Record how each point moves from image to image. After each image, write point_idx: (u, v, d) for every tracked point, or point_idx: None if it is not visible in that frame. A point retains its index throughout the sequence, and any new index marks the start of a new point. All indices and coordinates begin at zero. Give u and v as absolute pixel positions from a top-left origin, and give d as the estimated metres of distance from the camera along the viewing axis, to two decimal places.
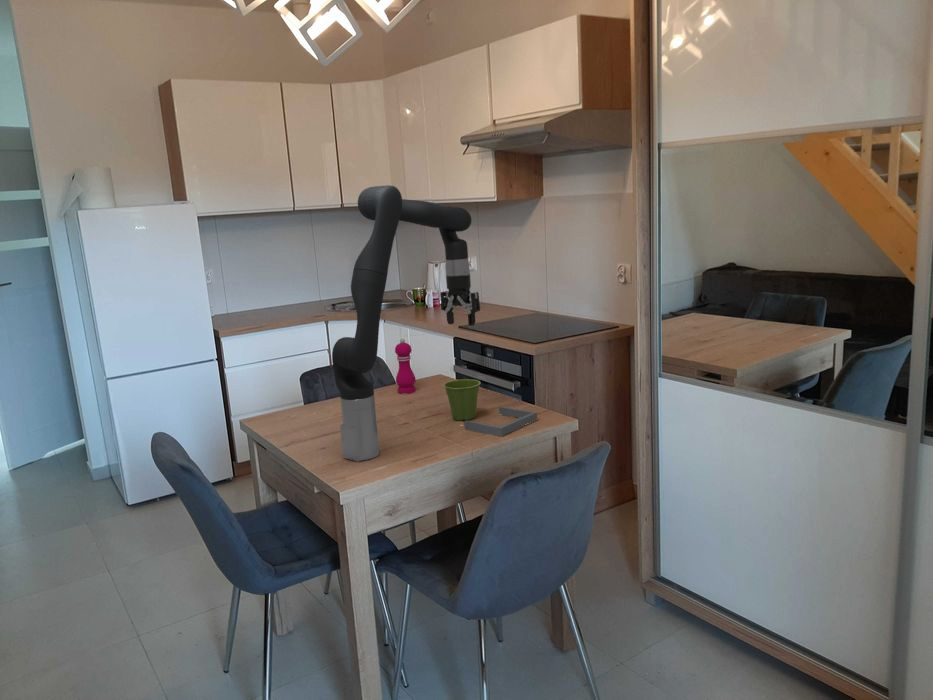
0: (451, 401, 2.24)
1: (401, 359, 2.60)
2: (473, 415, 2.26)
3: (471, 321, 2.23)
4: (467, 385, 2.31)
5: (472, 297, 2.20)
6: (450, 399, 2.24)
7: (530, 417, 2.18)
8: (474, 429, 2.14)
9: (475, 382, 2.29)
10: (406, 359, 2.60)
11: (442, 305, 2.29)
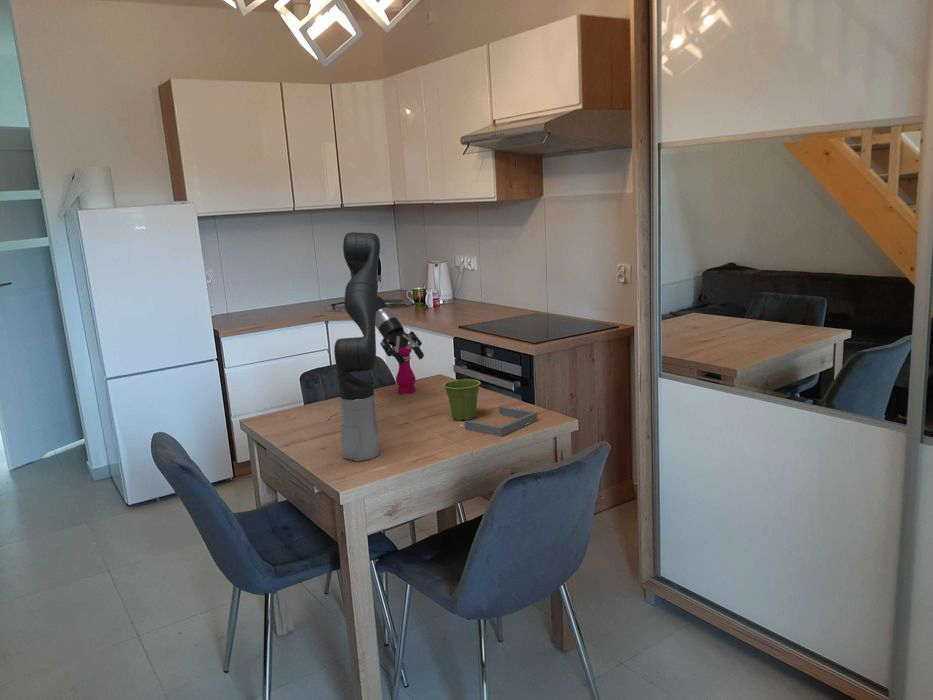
0: (451, 401, 2.24)
1: None
2: (473, 415, 2.26)
3: (422, 352, 2.43)
4: (467, 385, 2.31)
5: (413, 334, 2.46)
6: (450, 399, 2.24)
7: (530, 417, 2.18)
8: (474, 429, 2.14)
9: (475, 382, 2.29)
10: (406, 359, 2.60)
11: (390, 348, 2.36)
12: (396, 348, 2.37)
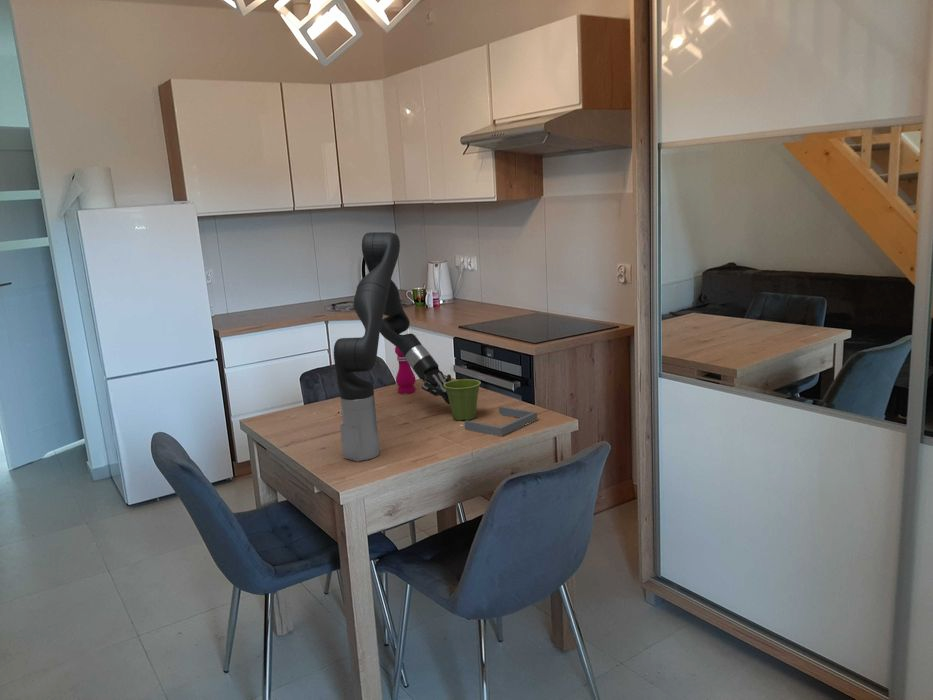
0: (451, 401, 2.24)
1: (401, 359, 2.60)
2: (473, 415, 2.26)
3: None
4: (467, 385, 2.31)
5: (449, 377, 2.36)
6: (450, 399, 2.24)
7: (530, 417, 2.18)
8: (474, 429, 2.14)
9: (475, 382, 2.29)
10: None
11: (436, 388, 2.29)
12: (441, 388, 2.31)
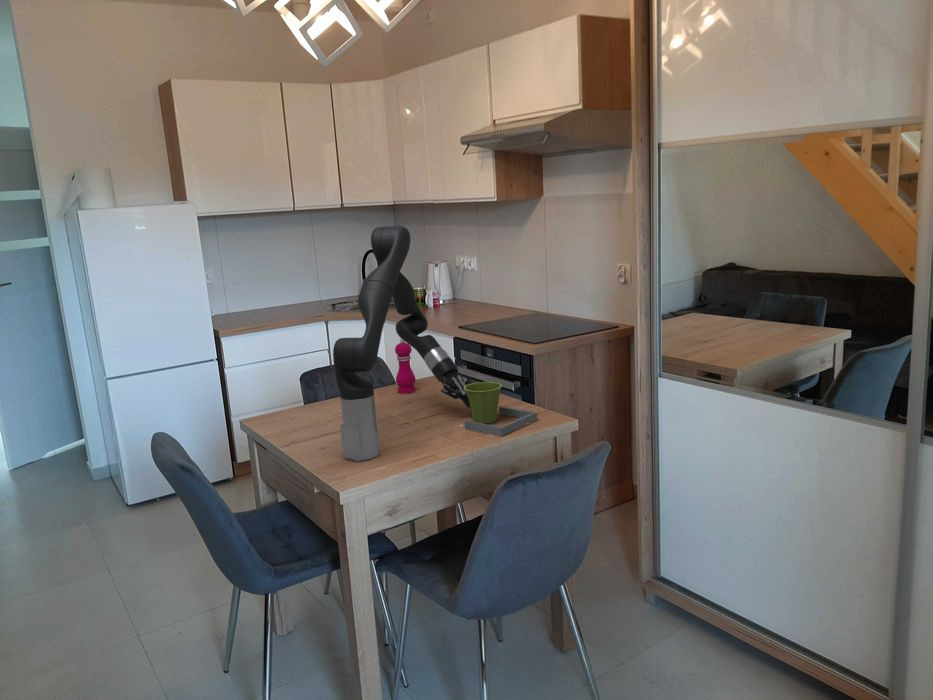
0: (472, 404, 2.19)
1: (401, 359, 2.60)
2: (495, 418, 2.21)
3: None
4: (487, 388, 2.26)
5: (469, 380, 2.31)
6: (471, 402, 2.19)
7: (530, 417, 2.18)
8: (474, 429, 2.14)
9: (496, 385, 2.24)
10: (406, 359, 2.60)
11: (456, 391, 2.24)
12: (461, 391, 2.25)
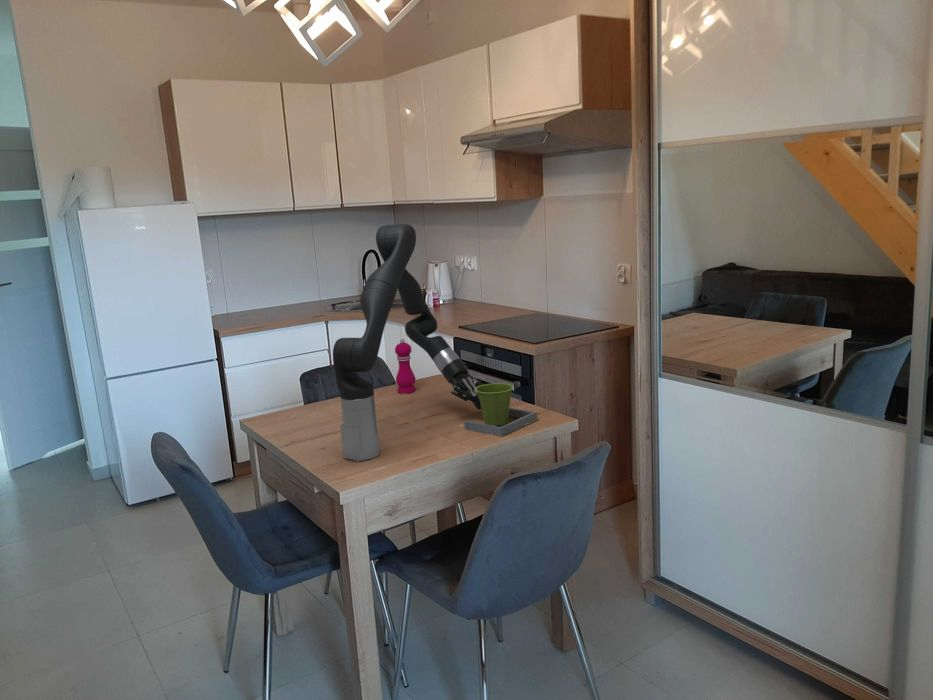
0: (484, 406, 2.16)
1: (401, 359, 2.60)
2: (506, 420, 2.18)
3: None
4: (497, 389, 2.24)
5: (479, 381, 2.28)
6: (483, 404, 2.16)
7: (530, 417, 2.18)
8: (474, 429, 2.14)
9: (506, 386, 2.22)
10: (406, 359, 2.60)
11: (466, 393, 2.21)
12: (471, 392, 2.23)
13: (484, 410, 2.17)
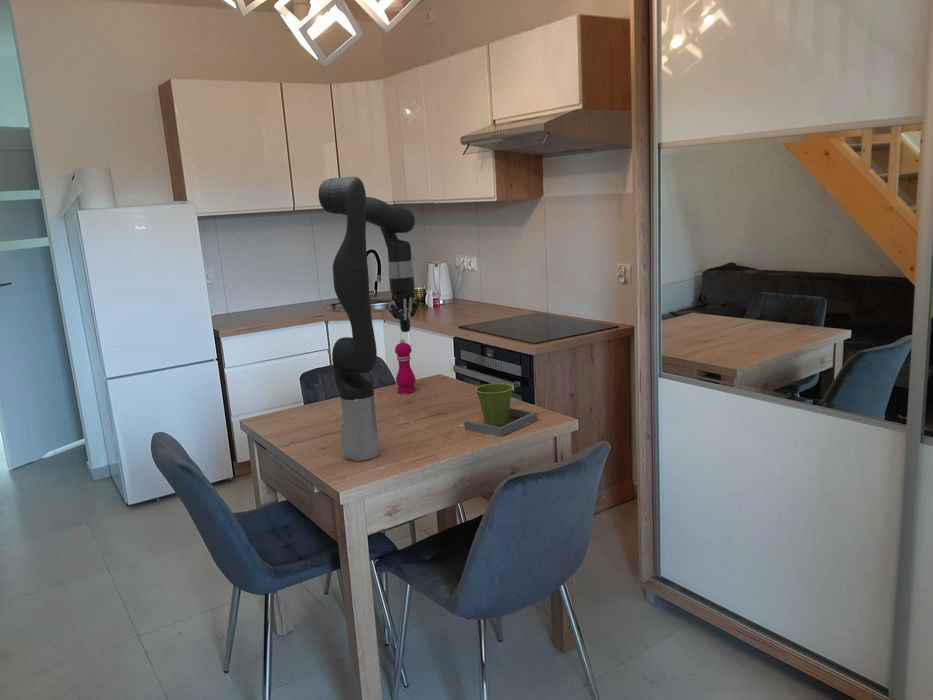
0: (484, 406, 2.16)
1: (401, 359, 2.60)
2: (507, 420, 2.18)
3: (409, 326, 2.22)
4: (497, 389, 2.23)
5: (418, 303, 2.23)
6: (483, 404, 2.16)
7: (530, 417, 2.18)
8: (474, 429, 2.14)
9: (506, 386, 2.22)
10: (406, 359, 2.60)
11: (399, 314, 2.18)
12: (404, 315, 2.19)
13: (484, 410, 2.17)
